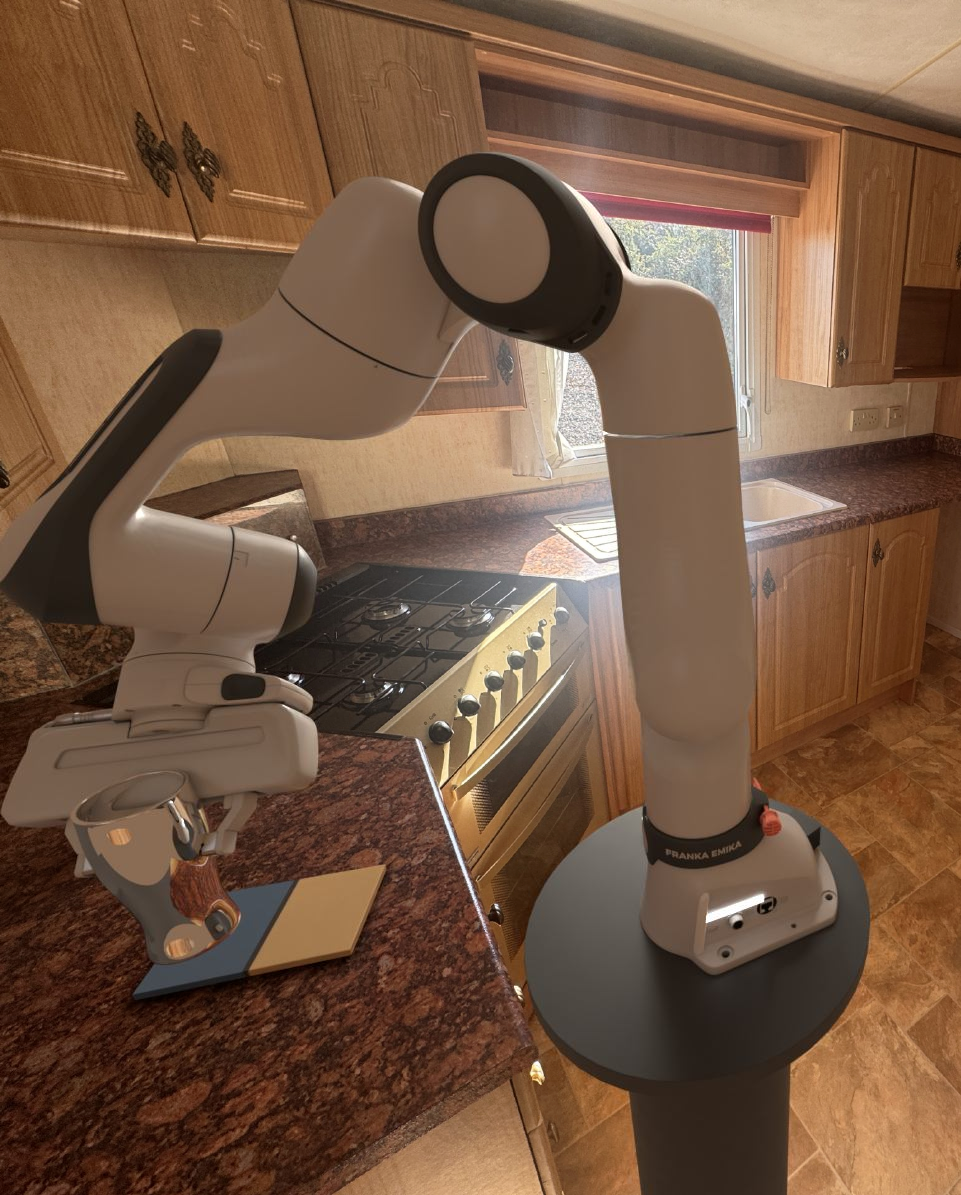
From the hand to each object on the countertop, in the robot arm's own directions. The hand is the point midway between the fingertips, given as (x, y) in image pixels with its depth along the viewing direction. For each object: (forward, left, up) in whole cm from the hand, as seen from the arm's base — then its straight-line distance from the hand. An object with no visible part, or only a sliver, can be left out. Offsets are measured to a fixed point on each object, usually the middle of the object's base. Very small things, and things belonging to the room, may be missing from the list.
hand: (157, 865), depth 51 cm
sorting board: (+1, -11, -19) cm, 22 cm away
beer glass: (0, -1, -9) cm, 9 cm away
